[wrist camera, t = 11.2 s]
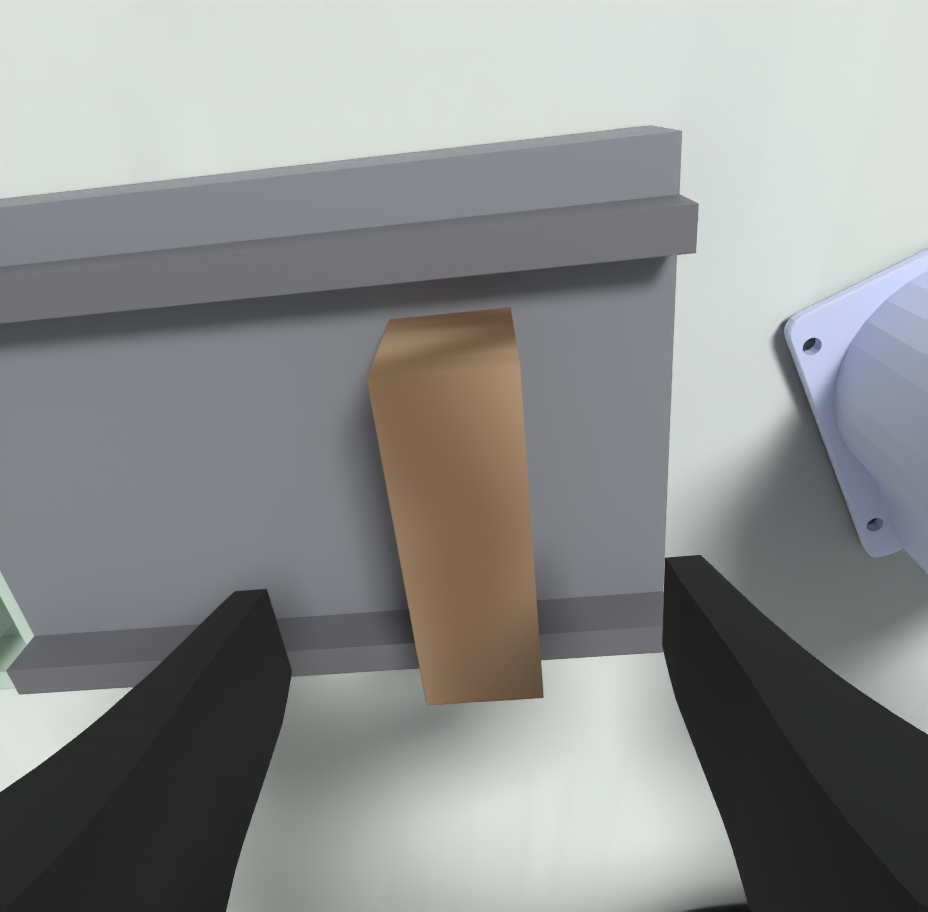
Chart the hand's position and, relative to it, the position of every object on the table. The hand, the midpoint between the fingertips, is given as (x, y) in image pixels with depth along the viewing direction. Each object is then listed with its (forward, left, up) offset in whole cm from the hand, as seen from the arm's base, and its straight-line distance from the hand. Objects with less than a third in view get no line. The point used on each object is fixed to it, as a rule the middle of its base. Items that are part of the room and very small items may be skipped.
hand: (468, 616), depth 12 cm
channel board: (+2, +4, -10) cm, 11 cm away
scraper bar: (-1, +1, -7) cm, 7 cm away
